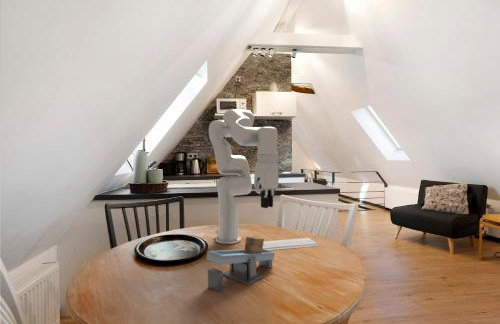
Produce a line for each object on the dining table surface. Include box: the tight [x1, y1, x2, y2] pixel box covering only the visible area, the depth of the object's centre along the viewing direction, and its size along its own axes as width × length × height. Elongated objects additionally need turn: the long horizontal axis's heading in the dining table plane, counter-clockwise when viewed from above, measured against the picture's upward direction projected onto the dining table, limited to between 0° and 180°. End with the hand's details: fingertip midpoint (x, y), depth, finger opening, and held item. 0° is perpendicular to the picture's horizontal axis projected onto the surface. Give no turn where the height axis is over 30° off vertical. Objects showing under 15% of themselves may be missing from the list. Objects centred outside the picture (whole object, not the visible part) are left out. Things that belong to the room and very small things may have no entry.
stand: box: [207, 257, 273, 293], centre depth 111 cm, size 12×28×8 cm, turn 138°
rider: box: [244, 236, 265, 254], centre depth 115 cm, size 4×5×6 cm
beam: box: [206, 248, 275, 265], centre depth 111 cm, size 8×28×3 cm, turn 138°
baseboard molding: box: [263, 237, 320, 252], centre depth 146 cm, size 31×3×12 cm
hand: (266, 206), depth 120 cm, fingers closed
